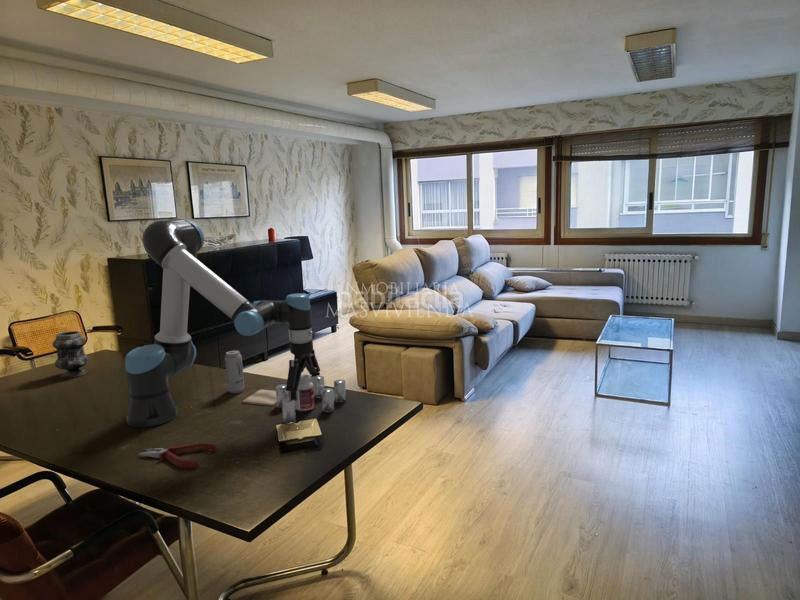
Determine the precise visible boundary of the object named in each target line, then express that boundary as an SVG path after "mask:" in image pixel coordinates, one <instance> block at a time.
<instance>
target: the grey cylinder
mask: <svg viewBox="0 0 800 600" xmlns="http://www.w3.org/2000/svg"><path fill="white" fill-rule="evenodd" d="M346 388H347V386H346V380H345V379H335V380H334V381H333V390H334V402H335V401H344V400H346V401H347V391H346V390H347V389H346Z"/></svg>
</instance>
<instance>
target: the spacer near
mask: <svg viewBox="0 0 800 600" xmlns="http://www.w3.org/2000/svg"><path fill="white" fill-rule="evenodd" d="M281 409H282V421H283V424H285V423H290V422H295V423H296V422H297V415H296V414H297V413H296V410H295V399H293V398H291V397H290V398H289V397H288V398H287V399H284V400H282V408H281Z"/></svg>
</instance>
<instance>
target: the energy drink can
mask: <svg viewBox="0 0 800 600" xmlns="http://www.w3.org/2000/svg"><path fill="white" fill-rule="evenodd" d="M240 352H241V351H240V350H235V349H234V350H230V351H227V352H225V356H224V365H225V375H226V377H225V378H226V385H227V391H228V392H229V393H230V394H239V393H241V392H243V391H244V389H245V379H244V369H243V368H244V367H243V366H244V365H243V357H242V354H241V353H240Z"/></svg>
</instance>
